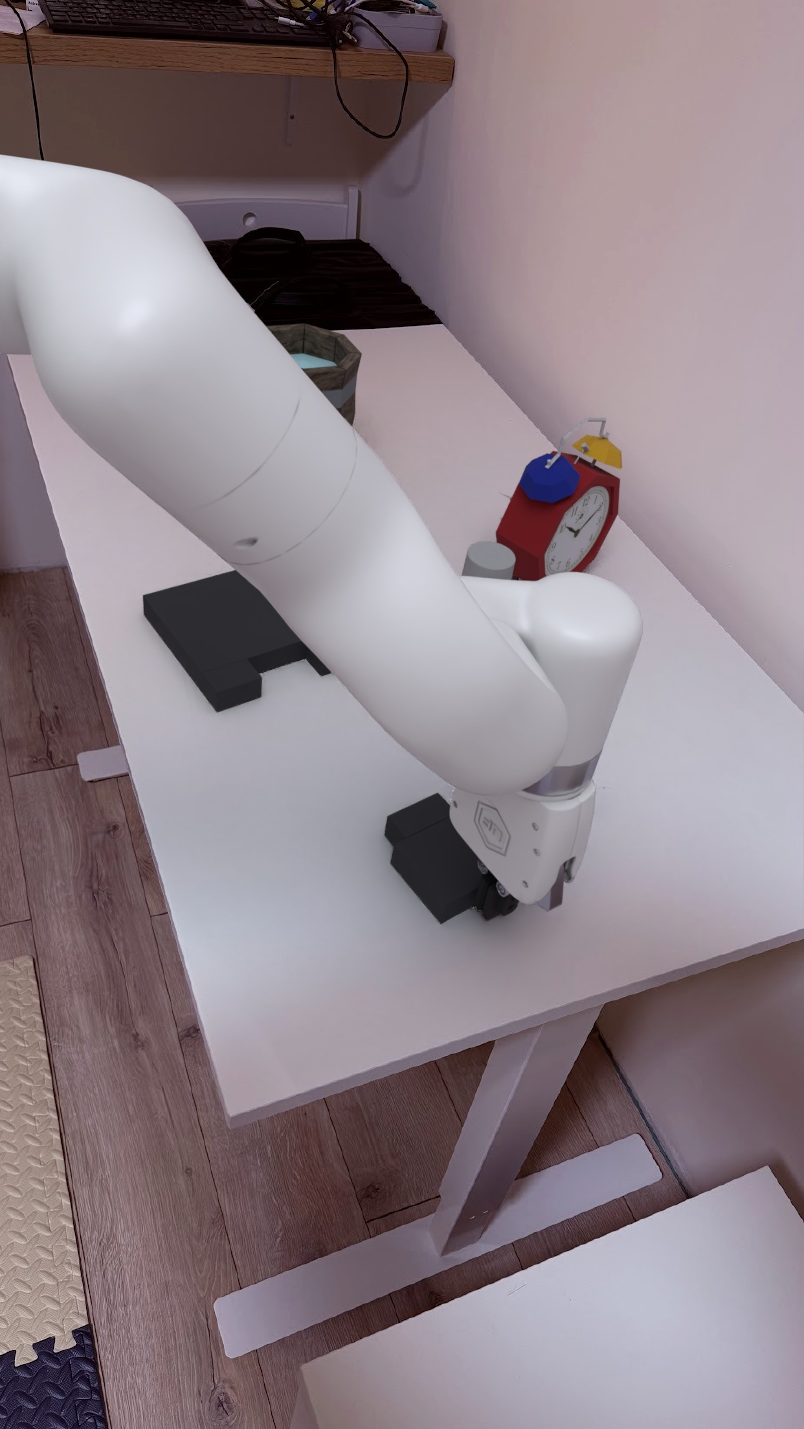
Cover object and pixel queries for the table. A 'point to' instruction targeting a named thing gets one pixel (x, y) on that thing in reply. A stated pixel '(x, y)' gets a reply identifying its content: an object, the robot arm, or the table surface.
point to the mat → (225, 636)
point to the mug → (324, 362)
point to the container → (489, 561)
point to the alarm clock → (562, 508)
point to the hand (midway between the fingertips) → (494, 906)
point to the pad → (433, 857)
